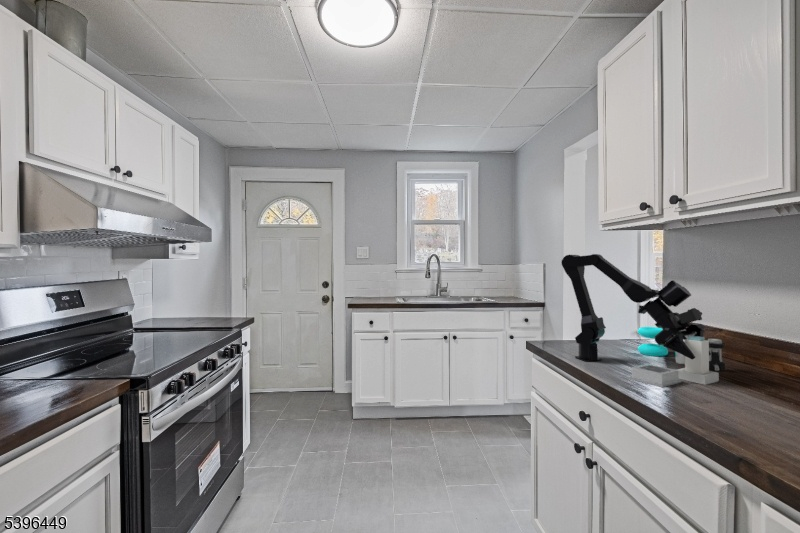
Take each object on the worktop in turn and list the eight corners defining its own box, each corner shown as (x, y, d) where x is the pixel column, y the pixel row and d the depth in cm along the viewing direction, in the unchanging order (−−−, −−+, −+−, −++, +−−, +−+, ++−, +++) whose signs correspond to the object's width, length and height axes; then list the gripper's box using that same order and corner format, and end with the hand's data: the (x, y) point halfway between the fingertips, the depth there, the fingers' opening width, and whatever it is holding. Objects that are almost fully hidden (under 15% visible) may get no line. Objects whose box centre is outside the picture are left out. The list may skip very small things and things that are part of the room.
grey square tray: (675, 377, 123) (675, 369, 123) (689, 374, 126) (689, 366, 126) (705, 384, 116) (705, 376, 116) (718, 381, 119) (718, 372, 119)
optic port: (628, 378, 123) (628, 367, 123) (648, 374, 127) (647, 363, 127) (662, 387, 114) (662, 375, 114) (682, 382, 118) (682, 370, 118)
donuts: (660, 326, 159) (673, 330, 150) (660, 351, 160) (673, 357, 150) (633, 326, 161) (644, 330, 151) (633, 350, 161) (645, 356, 151)
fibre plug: (685, 378, 122) (684, 336, 122) (692, 376, 124) (692, 335, 124) (701, 382, 118) (701, 338, 118) (708, 380, 120) (708, 337, 120)
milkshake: (677, 360, 144) (677, 332, 144) (692, 364, 139) (692, 335, 139) (668, 361, 143) (668, 333, 143) (683, 365, 138) (683, 336, 138)
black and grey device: (704, 371, 130) (704, 340, 130) (696, 367, 135) (696, 337, 135) (728, 372, 128) (728, 341, 128) (720, 368, 133) (719, 338, 133)
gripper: (664, 301, 120) (706, 344, 110) (698, 298, 129) (740, 338, 119) (638, 324, 127) (676, 366, 117) (672, 319, 136) (710, 359, 126)
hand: (701, 356), depth 120 cm, fingers open, 8 cm apart
